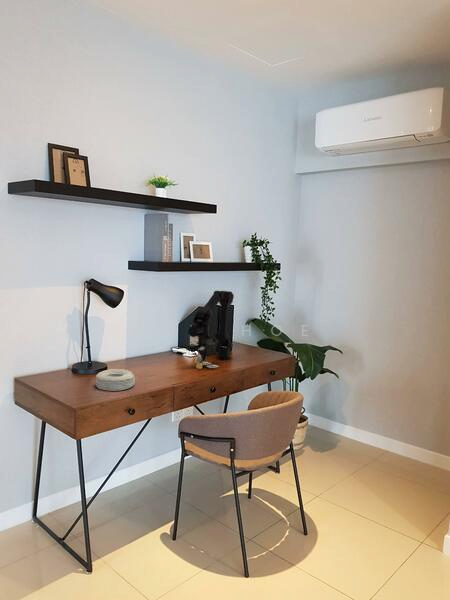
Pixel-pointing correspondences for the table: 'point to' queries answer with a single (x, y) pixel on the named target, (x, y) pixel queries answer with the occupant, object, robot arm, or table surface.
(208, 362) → the label tile
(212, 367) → the label tile
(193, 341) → the ink cartridge box
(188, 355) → the table surface
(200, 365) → the swing arm
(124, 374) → the grey stone ring
